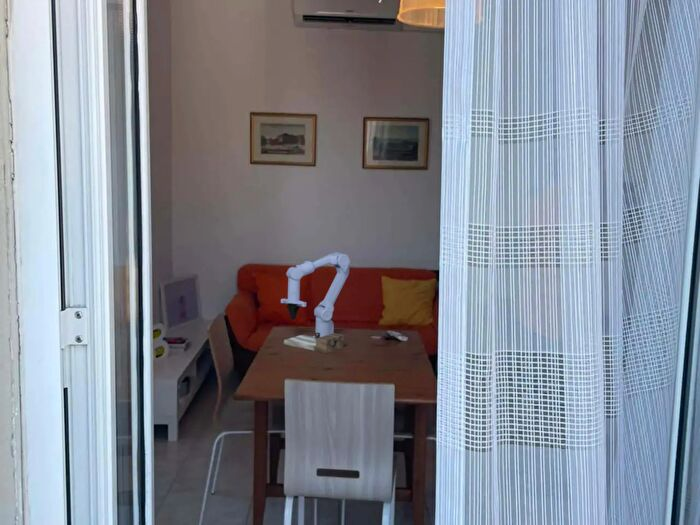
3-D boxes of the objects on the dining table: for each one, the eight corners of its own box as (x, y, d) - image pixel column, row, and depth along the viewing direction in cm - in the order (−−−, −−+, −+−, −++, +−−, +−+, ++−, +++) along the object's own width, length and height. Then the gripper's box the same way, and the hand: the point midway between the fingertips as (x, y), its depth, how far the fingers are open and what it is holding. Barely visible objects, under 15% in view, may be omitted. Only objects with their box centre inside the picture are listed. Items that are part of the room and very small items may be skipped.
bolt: (317, 341, 289) (317, 332, 288) (334, 344, 283) (334, 335, 283) (313, 342, 286) (313, 333, 286) (330, 345, 281) (331, 336, 280)
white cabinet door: (302, 338, 301) (302, 326, 300) (343, 347, 287) (343, 335, 287) (283, 344, 289) (284, 331, 289) (326, 353, 276) (326, 340, 275)
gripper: (277, 290, 296) (276, 318, 297) (300, 294, 288) (299, 322, 289) (286, 289, 302) (285, 316, 303) (309, 293, 294) (308, 320, 295)
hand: (293, 319), depth 297 cm, fingers closed
